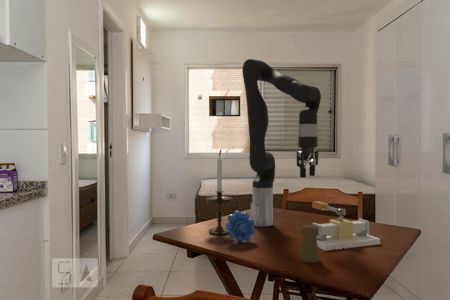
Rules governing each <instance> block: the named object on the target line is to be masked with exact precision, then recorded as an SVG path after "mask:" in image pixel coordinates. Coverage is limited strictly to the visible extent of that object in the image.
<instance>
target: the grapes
mask: <svg viewBox="0 0 450 300" xmlns="http://www.w3.org/2000/svg"><path fill="white" fill-rule="evenodd" d="M227 221H228V222H226V223H225V228H227V229H228V230H230V231H229V234H228V235H229V237H230V238H231V239H236V242H238V243H242V242H244V241H246V242H250V241H251V240H252V236H254V235H256V228H254V225H255V222H254V220H253V219H251V218H250V214H249V213H248V212H243V213H242V212H241V211H239V210H235V211H234V213H233V214H229V215H228V216H227Z"/></svg>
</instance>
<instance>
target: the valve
mask: <svg viewBox="0 0 450 300" xmlns="http://www.w3.org/2000/svg"><path fill="white" fill-rule="evenodd" d="M328 221H329V223H328V222H327V223H316V222H312V223H311V225H314V226H316V227H317V228H318V234H317V236H316V238H317V246H318V249H320V250H322V251H324V252H325V251H326V252H327V251H333V250H334V249H335V250H342V249H343V248H344V249H350V248H359V247H368V246H377V245H381V238H379V237H375V236H373V235H370V221H369V220H366V219H363V218H358V220H352V221H350V220H348V219H344V215H338V218H337V219H335V218H334V219H329V220H328ZM335 250H334V251H335Z"/></svg>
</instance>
